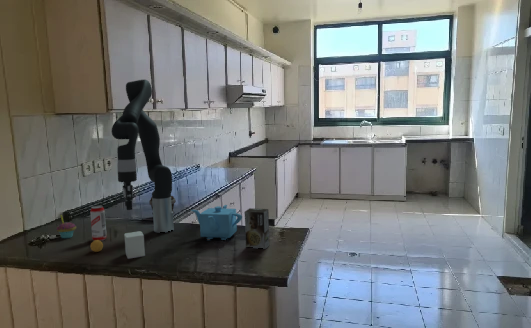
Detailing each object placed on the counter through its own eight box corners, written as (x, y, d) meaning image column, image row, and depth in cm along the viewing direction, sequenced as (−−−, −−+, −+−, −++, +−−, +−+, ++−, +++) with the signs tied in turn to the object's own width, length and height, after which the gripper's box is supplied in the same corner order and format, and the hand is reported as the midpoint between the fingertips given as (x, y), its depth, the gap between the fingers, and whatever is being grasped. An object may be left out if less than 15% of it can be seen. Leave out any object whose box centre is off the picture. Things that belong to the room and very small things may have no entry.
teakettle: (245, 238, 185) (244, 207, 183) (209, 246, 175) (207, 213, 173) (226, 229, 200) (225, 200, 199) (191, 236, 190) (190, 206, 189)
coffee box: (270, 244, 174) (269, 208, 172) (265, 249, 168) (264, 212, 166) (250, 243, 177) (249, 207, 175) (245, 247, 171) (244, 211, 169)
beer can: (101, 242, 185) (99, 208, 183) (89, 241, 186) (86, 208, 184) (109, 238, 191) (107, 205, 189) (97, 237, 192) (95, 205, 190)
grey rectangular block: (142, 251, 170) (141, 231, 169) (145, 255, 164) (143, 235, 163) (125, 253, 168) (124, 233, 166) (127, 258, 161) (126, 237, 160)
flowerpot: (144, 218, 228) (142, 184, 226) (165, 212, 240) (164, 180, 238) (160, 221, 219) (158, 186, 217) (182, 215, 231) (180, 182, 229)
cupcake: (57, 240, 189) (55, 216, 188) (57, 236, 197) (55, 212, 195) (77, 237, 193) (75, 213, 192) (76, 233, 201) (74, 210, 199)
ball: (103, 248, 175) (102, 237, 174) (103, 252, 170) (103, 240, 170) (90, 250, 173) (89, 239, 172) (91, 254, 168) (90, 242, 168)
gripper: (137, 171, 162) (139, 210, 164) (134, 168, 175) (136, 204, 177) (118, 172, 159) (120, 212, 161) (116, 169, 172) (118, 205, 174)
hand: (128, 208), depth 169 cm, fingers open, 8 cm apart
